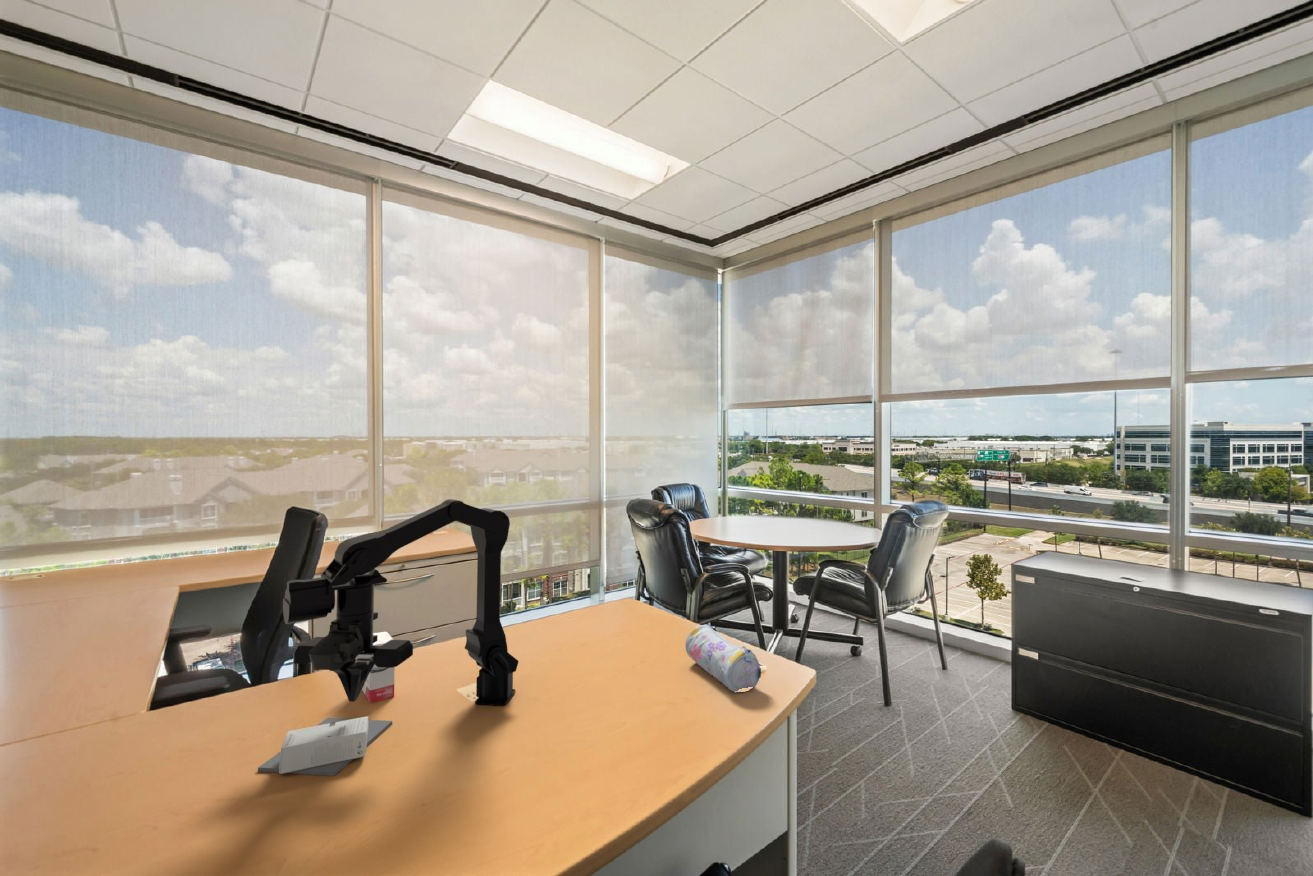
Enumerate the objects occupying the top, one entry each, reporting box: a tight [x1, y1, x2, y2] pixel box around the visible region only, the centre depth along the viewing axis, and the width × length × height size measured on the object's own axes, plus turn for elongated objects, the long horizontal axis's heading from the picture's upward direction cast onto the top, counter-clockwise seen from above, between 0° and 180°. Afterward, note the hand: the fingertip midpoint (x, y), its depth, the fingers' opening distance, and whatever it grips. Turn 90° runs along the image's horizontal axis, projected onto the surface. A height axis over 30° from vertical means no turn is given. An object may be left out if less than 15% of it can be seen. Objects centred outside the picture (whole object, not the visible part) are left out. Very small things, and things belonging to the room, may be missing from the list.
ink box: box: [361, 631, 396, 704], centre depth 113 cm, size 8×5×12 cm, turn 39°
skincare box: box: [279, 716, 369, 775], centre depth 88 cm, size 6×4×12 cm
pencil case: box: [685, 624, 762, 692], centre depth 122 cm, size 21×9×10 cm, turn 26°
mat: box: [257, 717, 393, 777], centre depth 92 cm, size 13×16×1 cm
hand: (353, 700), depth 92 cm, fingers closed
